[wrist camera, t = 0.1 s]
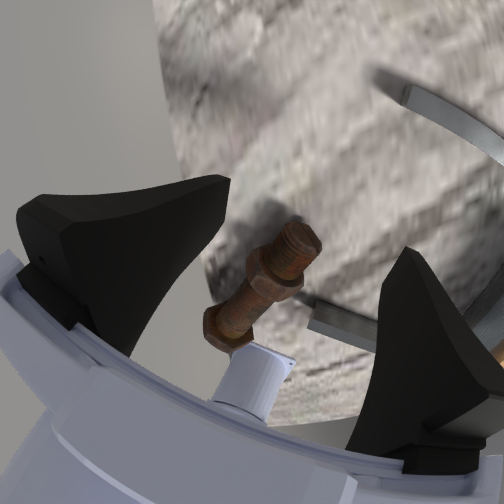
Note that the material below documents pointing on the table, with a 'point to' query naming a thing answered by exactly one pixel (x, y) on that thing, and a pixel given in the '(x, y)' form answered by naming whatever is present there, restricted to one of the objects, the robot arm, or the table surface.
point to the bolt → (262, 286)
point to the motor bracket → (494, 295)
